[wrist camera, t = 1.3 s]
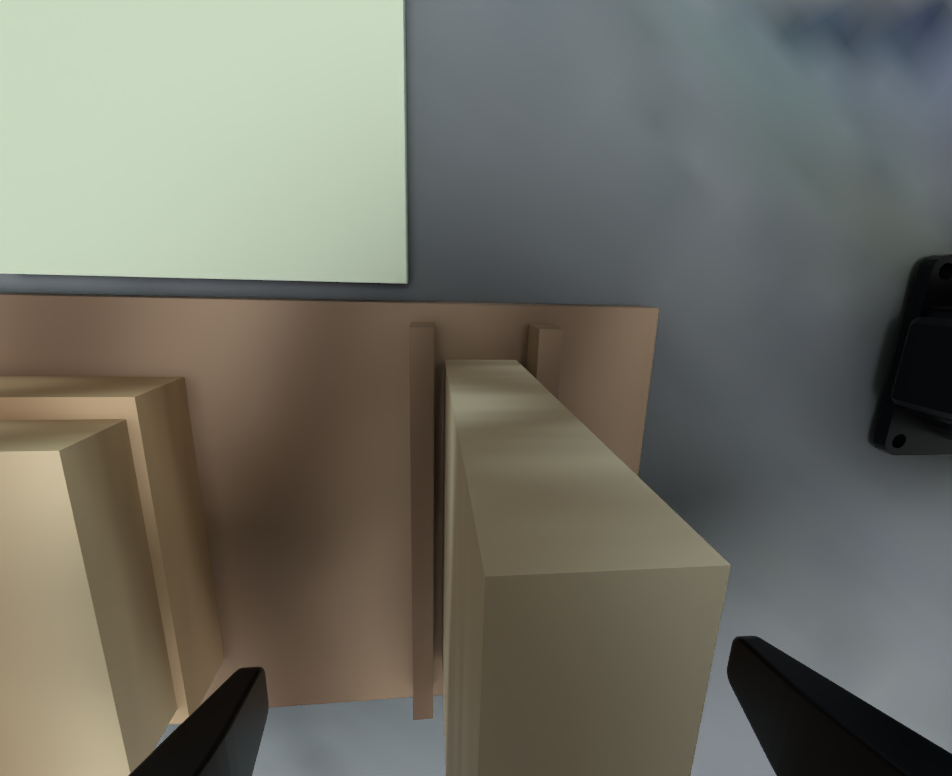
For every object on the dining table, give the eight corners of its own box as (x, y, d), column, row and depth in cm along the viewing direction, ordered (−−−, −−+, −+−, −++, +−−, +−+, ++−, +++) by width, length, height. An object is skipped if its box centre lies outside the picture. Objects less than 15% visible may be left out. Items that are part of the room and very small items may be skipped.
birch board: (516, 360, 12) (731, 565, 4) (501, 654, 15) (607, 1203, 6) (444, 359, 12) (485, 577, 3) (441, 658, 14) (461, 1233, 6)
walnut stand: (642, 305, 13) (683, 311, 11) (601, 657, 16) (627, 714, 14) (-111, 290, 11) (-237, 293, 9) (10, 698, 14) (-63, 772, 12)
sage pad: (403, -171, 10) (400, -219, 9) (408, 283, 12) (406, 283, 11) (-98, -239, 9) (-162, -302, 8) (16, 272, 11) (-22, 272, 10)
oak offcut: (184, 376, 11) (134, 396, 9) (224, 659, 14) (189, 722, 12) (-54, 376, 11) (-158, 397, 9) (28, 671, 13) (-42, 740, 11)
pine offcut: (126, 419, 10) (58, 450, 8) (177, 708, 12) (132, 785, 10) (-136, 420, 9) (-271, 455, 7) (-36, 724, 11) (-123, 808, 9)
